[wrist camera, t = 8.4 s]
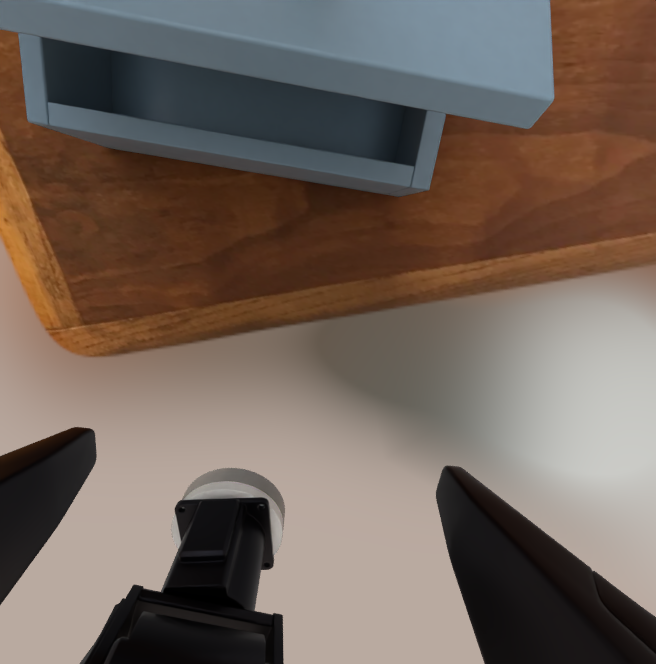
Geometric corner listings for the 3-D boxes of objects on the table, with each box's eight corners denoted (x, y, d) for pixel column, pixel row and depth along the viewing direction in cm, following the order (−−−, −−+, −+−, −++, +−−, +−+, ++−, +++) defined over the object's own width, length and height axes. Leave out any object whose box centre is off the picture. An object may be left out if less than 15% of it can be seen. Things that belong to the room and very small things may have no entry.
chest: (400, 196, 19) (429, 190, 14) (107, 148, 18) (26, 121, 13) (455, -77, 16) (521, -217, 11) (94, -161, 14) (-26, -363, 9)
